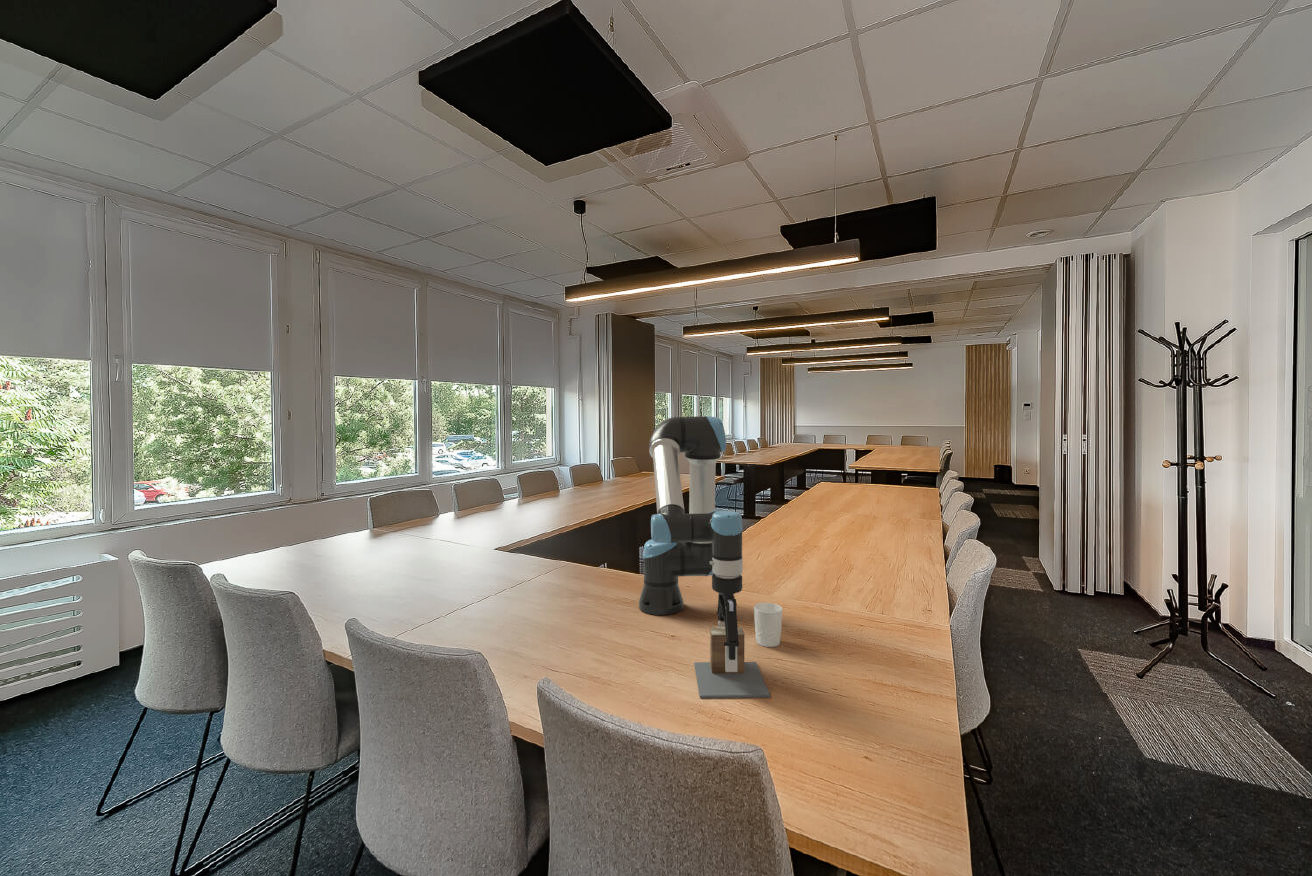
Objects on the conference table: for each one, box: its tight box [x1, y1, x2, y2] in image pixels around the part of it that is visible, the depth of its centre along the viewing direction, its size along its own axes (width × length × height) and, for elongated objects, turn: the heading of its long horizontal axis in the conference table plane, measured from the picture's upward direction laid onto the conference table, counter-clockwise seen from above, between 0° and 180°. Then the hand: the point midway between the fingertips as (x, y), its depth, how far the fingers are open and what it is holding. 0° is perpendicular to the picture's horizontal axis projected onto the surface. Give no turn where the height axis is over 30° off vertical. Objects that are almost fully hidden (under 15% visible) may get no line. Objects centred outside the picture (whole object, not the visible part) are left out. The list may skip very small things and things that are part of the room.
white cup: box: [753, 602, 783, 648], centre depth 145 cm, size 8×8×10 cm
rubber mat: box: [693, 661, 771, 699], centre depth 124 cm, size 16×16×1 cm
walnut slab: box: [709, 626, 745, 673], centre depth 128 cm, size 4×8×10 cm, turn 90°
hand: (727, 658), depth 128 cm, fingers open, 13 cm apart
